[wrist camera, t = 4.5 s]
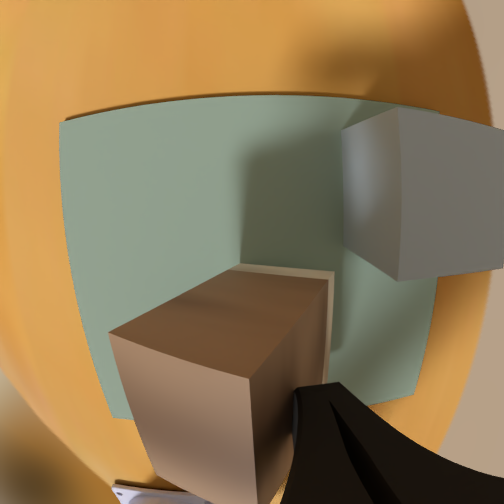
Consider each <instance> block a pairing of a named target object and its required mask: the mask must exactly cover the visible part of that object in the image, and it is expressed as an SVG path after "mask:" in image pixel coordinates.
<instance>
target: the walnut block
mask: <svg viewBox="0 0 504 504" xmlns="http://www.w3.org/2000/svg"><path fill="white" fill-rule="evenodd" d="M334 273H335V271H323V270H311V269H299V268H288V267H276V266H265V265H254V264H243V263H239V264H238V265H236V266H234V267H232V268H230V269H228V270H226V271H224V272H222V273H220V274H218V275H217V276H215V277H213V278H211V279H209V280H207V281H205V282H203V283H201V284H199V285H198V286H196V287H194V288H192V289H190V290H188V291H186V292H184V293H182V294H180V295H178V296H177V297H175V298H173V299H171V300H169V301H167V302H165V303H163V304H161V305H159V306H157V307H156V308H154V309H152V310H150V311H148V312H146V313H144V314H142V315H140V316H138V317H136V318H134V319H133V320H131V321H129V322H127V323H125V324H123V325H121V326H119V327H117V328H115V329H113V330H111V331H109V332H108V335H109V339H110V343H111V347H112V351H113V354H114V358H115V362H116V365H117V369H118V372H119V375H120V379H121V382H122V385H123V389H124V392H125V395H126V398H127V401H128V404H129V407H130V410H131V413H132V415H133V418H134V421H135V424H136V426H137V429H138V432H139V434H140V437H141V439H142V442H143V444H144V447H145V449H146V452H147V454H148V457H149V459H150V461H151V464H152V466H153V468H154V470H155V473H156V475H158V476H159V477H161V478H163V479H165V480H167V481H169V482H170V483H172V484H174V485H176V486H178V487H180V488H182V489H184V490H186V491H188V492H190V493H192V494H194V495H196V496H198V497H201V498H203V499H205V500H207V501H209V502H212V503H214V504H270V502H271V501H272V499H273V497H274V496H275V494H276V492H277V491H278V489H279V487H280V485H281V484H282V482H283V480H284V478H285V477H286V475H287V473H288V471H289V470H290V468H291V465H292V460H293V455H294V449H293V438H292V418H293V396H294V390H295V389H296V388H297V387H302V386H311V385H319V384H326V383H327V380H328V370H329V359H330V346H331V333H332V317H333V299H334Z"/></svg>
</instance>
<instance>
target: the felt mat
mask: <svg viewBox="0 0 504 504" xmlns="http://www.w3.org/2000/svg"><path fill="white" fill-rule="evenodd" d="M396 107H401V108H408V109H414V110H420V111H426V112H431V113H436V114H440V113H439V111H434V110H429V109H424V108H418V107H413V106H407V105H400V104H393V103H386V102H378V101H370V100H361V99H350V98H338V97H322V96H298V95H250V96H226V97H211V98H198V99H188V100H178V101H170V102H162V103H154V104H147V105H141V106H135V107H129V108H123V109H117V110H112V111H107V112H102V113H97V114H93V115H88V116H84V117H80V118H76V119H72V120H68V121H64V122H60V128H59V154H60V180H61V196H62V207H63V218H64V226H65V234H66V242H67V249H68V255H69V262H70V267H71V273H72V278H73V284H74V289H75V294H76V298H77V303H78V307H79V312H80V316H81V320H82V324H83V328H84V332H85V335H86V339H87V343H88V346H89V350H90V353H91V356H92V360H93V363H94V366H95V369H96V372H97V375H98V378H99V381H100V384H101V387H102V390H103V393H104V396H105V398H106V401H107V404H108V406H109V409H110V412H111V414H112V417H113V418H120V419H130V420H134V418H133V415H132V413H131V410H130V407H129V404H128V401H127V398H126V395H125V392H124V389H123V385H122V382H121V379H120V375H119V372H118V369H117V365H116V362H115V358H114V354H113V351H112V347H111V343H110V339H109V335H108V332H109V331H111V330H113V329H115V328H117V327H119V326H121V325H123V324H125V323H127V322H129V321H131V320H133V319H134V318H136V317H138V316H140V315H142V314H144V313H146V312H148V311H150V310H152V309H154V308H156V307H157V306H159V305H161V304H163V303H165V302H167V301H169V300H171V299H173V298H175V297H177V296H178V295H180V294H182V293H184V292H186V291H188V290H190V289H192V288H194V287H196V286H198V285H199V284H201V283H203V282H205V281H207V280H209V279H211V278H213V277H215V276H217V275H218V274H220V273H222V272H224V271H226V270H228V269H230V268H232V267H234V266H236V265H238V264H239V263H243V264H254V265H265V266H276V267H288V268H299V269H311V270H323V271H335V273H334V299H333V317H332V333H331V346H330V359H329V370H328V380H327V383H333V382H340V383H341V384H342V385H343V386H345V387H346V388H347V389H348V390H349V391H350V392H351V393H352V394H353V395H355V396H356V397H357V398H358V399H359V400H360V401H361V402H363V403H364V404H365V405H366V406H368V405H373V404H377V403H382V402H386V401H390V400H394V399H398V398H402V397H406V396H410V395H414V392H415V388H416V385H417V381H418V377H419V373H420V370H421V366H422V362H423V357H424V353H425V349H426V344H427V340H428V335H429V330H430V325H431V319H432V314H433V308H434V301H435V295H436V288H437V280H438V277H435V278H427V279H418V280H409V281H400V282H397V281H395V280H394V279H393V278H391V277H390V276H388V275H387V274H385V273H384V272H382V271H381V270H379V269H378V268H376V267H375V266H373V265H372V264H370V263H369V262H367V261H366V260H364V259H362V258H361V257H359V256H358V255H356V254H355V253H353V252H352V251H350V250H349V249H347V248H345V247H344V246H343V222H344V212H343V163H342V141H341V130H343V129H345V128H348V127H350V126H352V125H355V124H357V123H359V122H362V121H364V120H366V119H369V118H371V117H374V116H376V115H378V114H381V113H383V112H386V111H388V110H391V109H393V108H396Z"/></svg>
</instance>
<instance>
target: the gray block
mask: <svg viewBox="0 0 504 504" xmlns="http://www.w3.org/2000/svg"><path fill="white" fill-rule="evenodd" d="M341 141H342V163H343V212H344V222H343V246H344V247H345V248H347V249H349V250H350V251H352V252H353V253H355V254H356V255H358V256H359V257H361V258H362V259H364V260H366V261H367V262H369V263H370V264H372V265H373V266H375V267H376V268H378V269H379V270H381V271H382V272H384V273H385V274H387V275H388V276H390V277H391V278H393V279H394V280H395V281H397V282H400V281H409V280H418V279H427V278H435V277H443V276H451V275H459V274H466V273H474V272H481V271H488V270H495V269H501V268H503V264H504V130H501V129H498V128H494V127H491V126H487V125H484V124H480V123H476V122H472V121H468V120H464V119H460V118H455V117H451V116H446V115H441V114H436V113H431V112H426V111H420V110H414V109H408V108H401V107H396V108H393V109H391V110H388V111H386V112H383V113H381V114H378V115H376V116H374V117H371V118H369V119H366V120H364V121H362V122H359V123H357V124H355V125H352V126H350V127H348V128H345V129H343V130H341Z"/></svg>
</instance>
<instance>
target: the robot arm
mask: <svg viewBox="0 0 504 504" xmlns="http://www.w3.org/2000/svg"><path fill="white" fill-rule="evenodd" d="M292 438H293V449H294V455H293V460H292V465H291V469H290V473H289V477H288V481H287V484H286V487H285V491H284V494H283V497H282V500H281V502H280V504H504V478H501V477H496V476H492V475H488V474H485V473H482V472H478V471H475V470H473V469H470V468H467V467H464V466H462V465H459V464H457V463H454V462H452V461H450V460H447V459H445V458H443V457H441V456H439V455H437V454H435V453H433V452H432V451H430V450H428V449H426V448H424V447H422V446H421V445H419V444H417V443H416V442H414V441H413V440H411V439H409V438H408V437H406V436H405V435H403V434H402V433H400V432H399V431H398V430H396V429H395V428H393V427H392V426H391V425H390V424H388V423H387V422H386V421H384V420H383V419H382V418H381V417H379V416H378V415H377V414H376V413H374V412H373V411H372V410H371V409H370V408H368V407H367V406H366V405H365V404H364V403H363V402H361V401H360V400H359V399H358V398H357V397H356V396H355V395H353V394H352V393H351V392H350V391H349V390H348V389H347V388H346V387H345V386H343V385H342V384H341V383H340V382H333V383H326V384H319V385H311V386H302V387H297V388H296V389H295V390H294V396H293V418H292ZM112 490H113V492H114V493H115V495H116V496H117V498H118V499H119V500H120V502H121V503H122V504H214V503H212V502H209V501H207V500H205V499H203V498H201V497H198V496H196V495H194V494H192V493H190V492H178V491H165V490H155V489H146V488H138V487H131V486H125V485H119V484H113V485H112Z"/></svg>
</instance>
